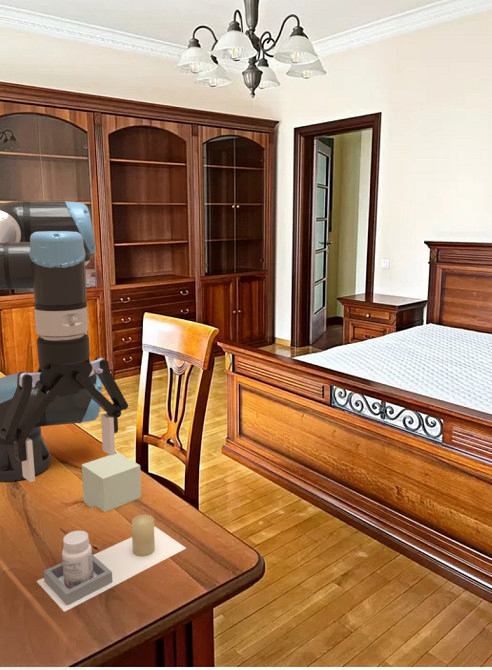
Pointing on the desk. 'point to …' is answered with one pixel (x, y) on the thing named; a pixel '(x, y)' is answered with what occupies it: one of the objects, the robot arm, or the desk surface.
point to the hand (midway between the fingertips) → (71, 465)
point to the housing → (111, 482)
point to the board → (114, 564)
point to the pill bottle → (77, 559)
